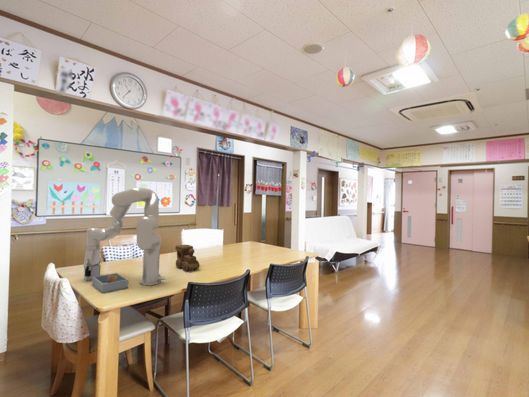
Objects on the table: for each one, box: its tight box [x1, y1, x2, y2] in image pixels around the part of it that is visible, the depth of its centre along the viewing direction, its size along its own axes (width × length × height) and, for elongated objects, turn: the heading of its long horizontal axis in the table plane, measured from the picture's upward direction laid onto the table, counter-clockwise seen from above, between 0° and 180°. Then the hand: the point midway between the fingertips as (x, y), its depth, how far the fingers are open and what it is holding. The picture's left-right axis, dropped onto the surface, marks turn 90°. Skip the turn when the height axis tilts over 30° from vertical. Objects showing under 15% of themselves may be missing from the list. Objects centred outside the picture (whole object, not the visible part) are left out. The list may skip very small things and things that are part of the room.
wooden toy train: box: [175, 244, 200, 272], centre depth 209 cm, size 20×11×17 cm, turn 46°
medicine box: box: [83, 264, 102, 281], centre depth 176 cm, size 8×4×9 cm, turn 141°
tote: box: [91, 272, 129, 294], centre depth 163 cm, size 18×14×5 cm
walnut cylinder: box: [108, 273, 117, 283], centre depth 160 cm, size 5×5×7 cm
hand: (92, 274), depth 176 cm, fingers closed on medicine box, 8 cm apart
